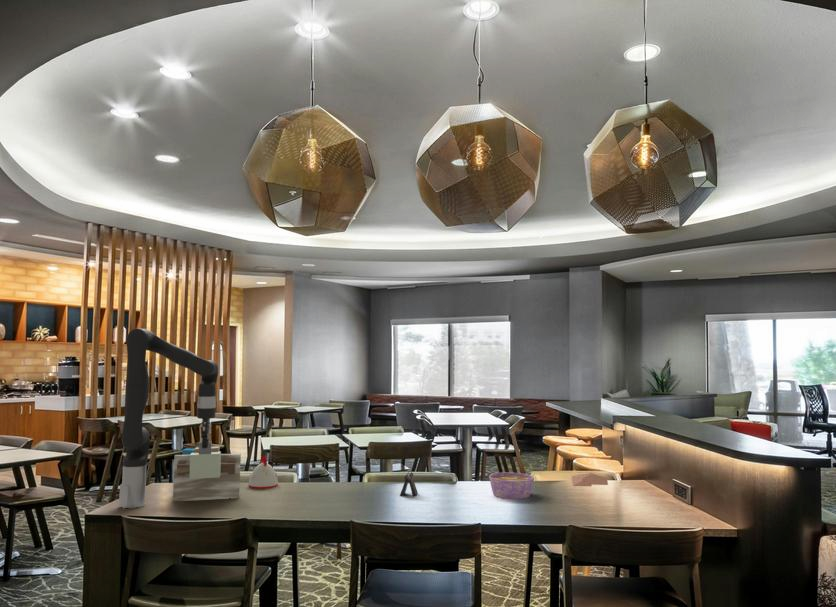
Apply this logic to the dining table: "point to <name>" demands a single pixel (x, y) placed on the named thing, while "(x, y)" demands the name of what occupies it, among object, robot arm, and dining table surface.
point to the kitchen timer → (263, 476)
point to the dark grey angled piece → (412, 485)
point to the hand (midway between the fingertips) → (205, 447)
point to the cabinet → (205, 462)
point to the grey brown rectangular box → (207, 480)
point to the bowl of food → (511, 485)
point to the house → (588, 480)
